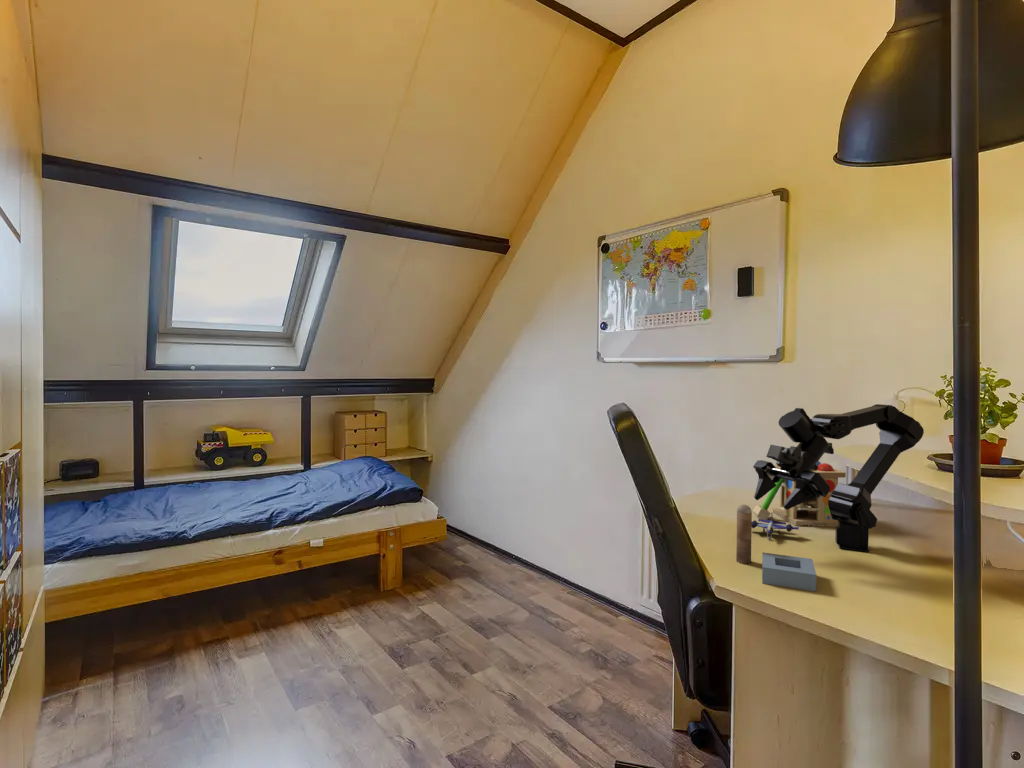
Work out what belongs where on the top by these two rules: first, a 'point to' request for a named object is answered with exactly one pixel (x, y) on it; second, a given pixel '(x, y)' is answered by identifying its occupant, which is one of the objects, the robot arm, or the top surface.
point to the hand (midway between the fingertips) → (769, 503)
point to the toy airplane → (772, 526)
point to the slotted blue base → (788, 571)
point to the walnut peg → (744, 534)
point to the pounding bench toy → (802, 513)
